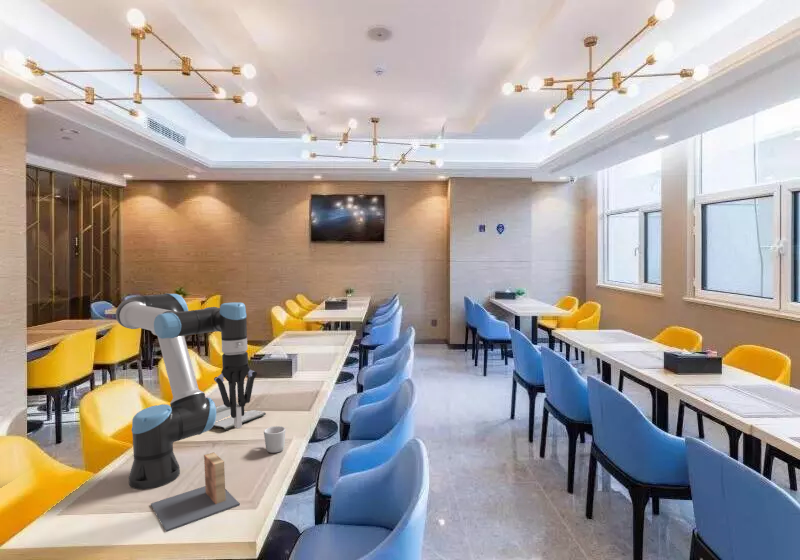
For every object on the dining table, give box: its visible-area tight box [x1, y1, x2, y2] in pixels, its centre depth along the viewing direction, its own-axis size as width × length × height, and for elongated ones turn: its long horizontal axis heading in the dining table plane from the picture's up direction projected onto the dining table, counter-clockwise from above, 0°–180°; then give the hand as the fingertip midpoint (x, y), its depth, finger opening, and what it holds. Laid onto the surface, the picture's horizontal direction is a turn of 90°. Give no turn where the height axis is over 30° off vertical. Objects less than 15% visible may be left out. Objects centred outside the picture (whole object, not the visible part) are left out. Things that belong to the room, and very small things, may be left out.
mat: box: [213, 401, 267, 432], centre depth 212 cm, size 23×24×5 cm
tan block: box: [203, 451, 226, 504], centre depth 142 cm, size 9×3×12 cm, turn 40°
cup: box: [263, 425, 286, 454], centre depth 178 cm, size 11×8×8 cm
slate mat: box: [150, 485, 241, 533], centre depth 139 cm, size 18×20×1 cm
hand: (238, 426), depth 146 cm, fingers closed
